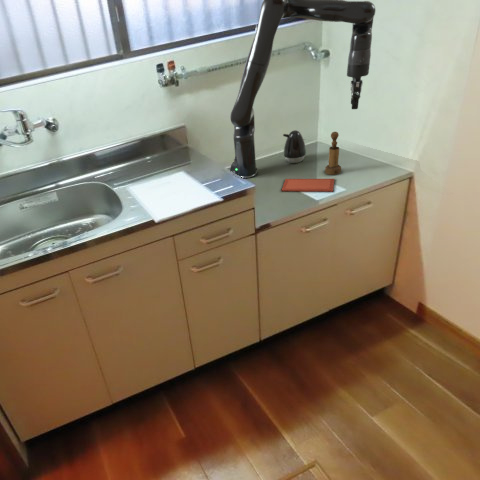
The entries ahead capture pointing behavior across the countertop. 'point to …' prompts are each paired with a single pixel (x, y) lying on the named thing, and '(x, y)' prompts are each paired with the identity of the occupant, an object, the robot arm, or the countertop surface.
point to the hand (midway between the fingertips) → (354, 106)
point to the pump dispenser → (294, 147)
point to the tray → (308, 185)
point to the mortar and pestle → (333, 157)
